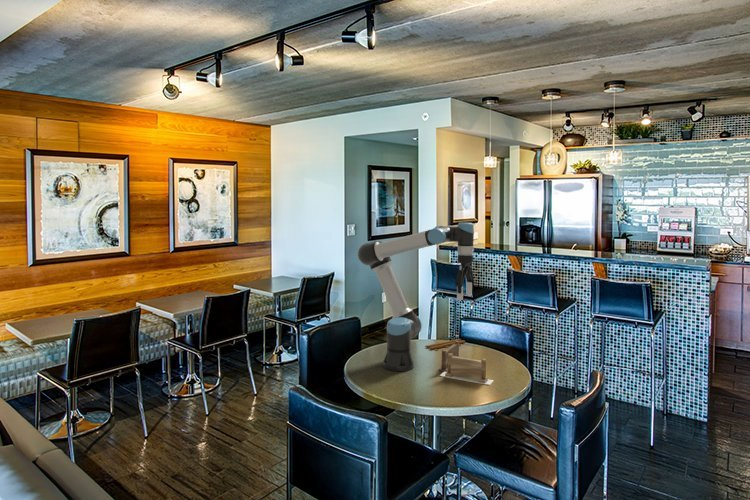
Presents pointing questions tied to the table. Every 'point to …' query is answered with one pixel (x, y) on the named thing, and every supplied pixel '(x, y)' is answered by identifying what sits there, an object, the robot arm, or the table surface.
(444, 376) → the strip
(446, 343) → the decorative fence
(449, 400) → the table surface
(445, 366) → the walnut fence panel
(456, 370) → the oak fence segment
